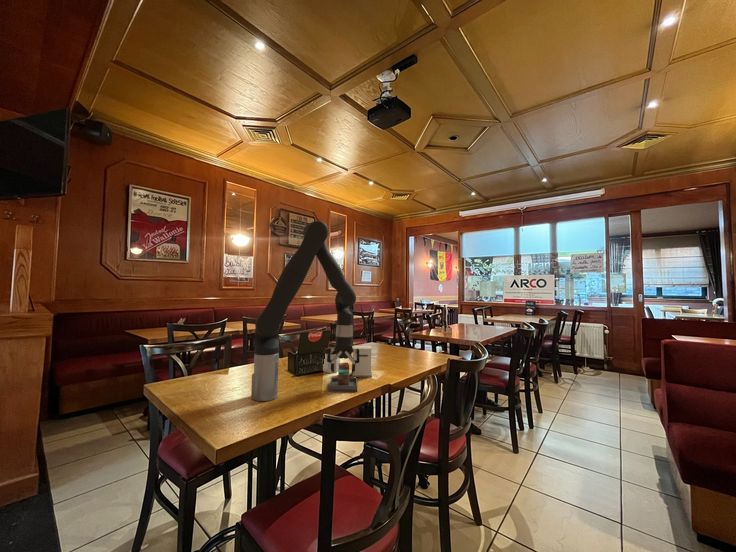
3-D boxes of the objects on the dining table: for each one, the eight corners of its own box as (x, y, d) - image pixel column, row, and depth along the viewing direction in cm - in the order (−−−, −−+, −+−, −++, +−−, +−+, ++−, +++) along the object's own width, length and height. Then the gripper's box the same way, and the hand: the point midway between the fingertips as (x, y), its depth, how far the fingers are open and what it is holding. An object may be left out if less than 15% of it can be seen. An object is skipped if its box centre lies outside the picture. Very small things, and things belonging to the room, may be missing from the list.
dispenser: (351, 377, 147) (352, 348, 148) (352, 373, 155) (352, 345, 156) (372, 377, 147) (372, 348, 148) (371, 373, 155) (371, 345, 156)
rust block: (340, 377, 147) (340, 365, 147) (338, 375, 151) (338, 362, 152) (349, 376, 148) (349, 364, 149) (347, 374, 153) (347, 362, 153)
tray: (328, 391, 126) (328, 385, 126) (331, 383, 138) (331, 377, 138) (357, 391, 126) (357, 385, 126) (357, 383, 138) (357, 377, 138)
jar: (342, 371, 158) (343, 348, 158) (329, 374, 153) (329, 350, 153) (333, 368, 165) (333, 345, 165) (320, 370, 160) (320, 347, 160)
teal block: (338, 386, 130) (338, 372, 130) (338, 383, 134) (339, 369, 134) (348, 386, 130) (348, 372, 130) (349, 383, 134) (349, 369, 135)
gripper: (327, 335, 129) (325, 374, 128) (360, 336, 130) (359, 375, 129) (329, 333, 137) (327, 369, 136) (360, 334, 137) (359, 370, 136)
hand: (342, 372), depth 132 cm, fingers open, 8 cm apart
